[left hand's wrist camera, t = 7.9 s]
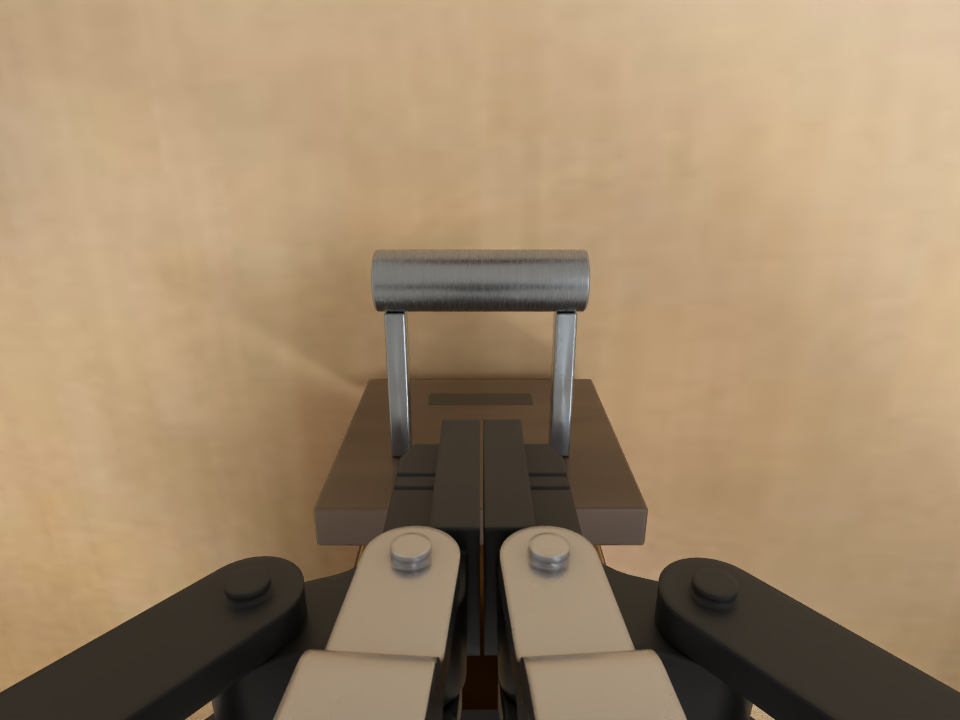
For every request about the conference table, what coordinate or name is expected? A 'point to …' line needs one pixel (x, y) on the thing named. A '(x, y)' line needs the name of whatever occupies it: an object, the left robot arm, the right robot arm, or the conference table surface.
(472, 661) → the drawer
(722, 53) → the conference table surface
